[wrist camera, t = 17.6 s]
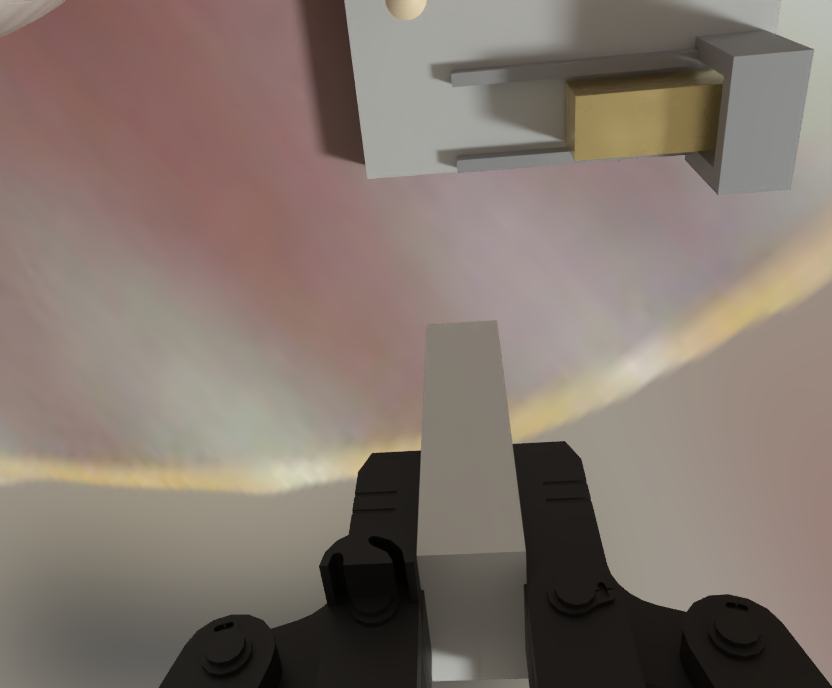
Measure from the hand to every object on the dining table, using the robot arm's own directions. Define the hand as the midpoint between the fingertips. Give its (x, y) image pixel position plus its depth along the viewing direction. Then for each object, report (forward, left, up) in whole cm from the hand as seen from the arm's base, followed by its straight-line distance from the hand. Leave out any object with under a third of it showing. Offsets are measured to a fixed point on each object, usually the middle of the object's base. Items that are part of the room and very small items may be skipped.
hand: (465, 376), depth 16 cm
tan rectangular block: (+9, 0, -22) cm, 24 cm away
